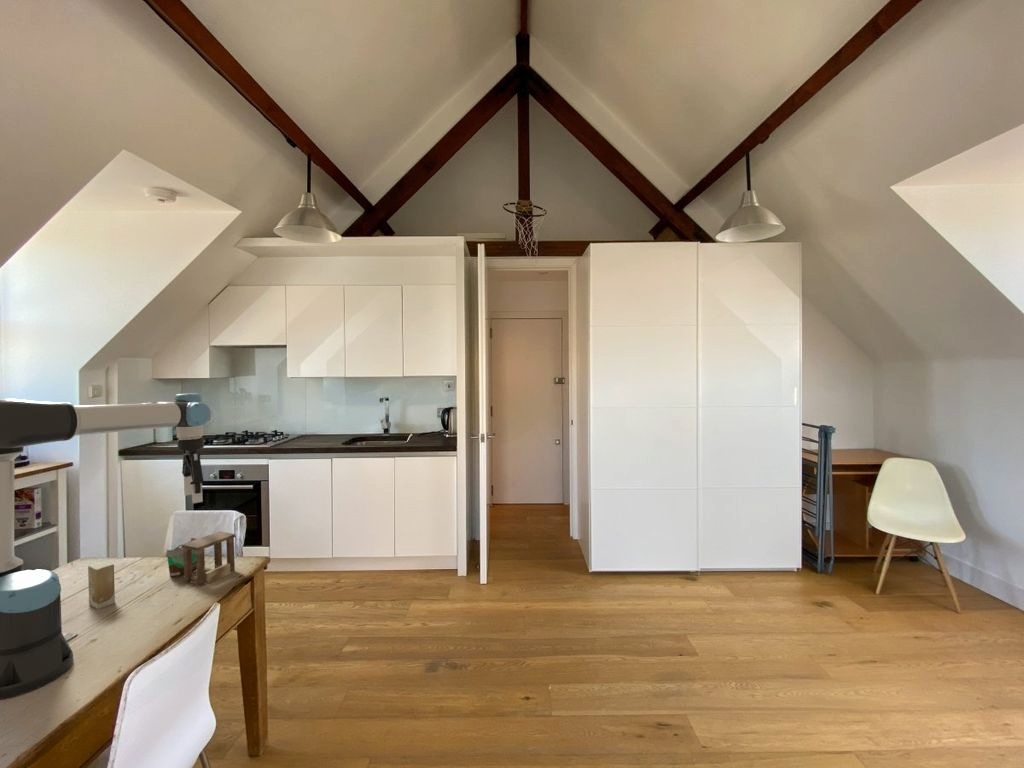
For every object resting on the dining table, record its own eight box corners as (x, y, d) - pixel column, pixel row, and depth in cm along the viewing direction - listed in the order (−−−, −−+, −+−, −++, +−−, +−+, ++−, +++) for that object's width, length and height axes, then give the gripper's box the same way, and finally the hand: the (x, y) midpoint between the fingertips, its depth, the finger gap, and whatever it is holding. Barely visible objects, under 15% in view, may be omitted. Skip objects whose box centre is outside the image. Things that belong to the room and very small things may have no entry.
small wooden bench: (200, 587, 146) (198, 548, 146) (182, 583, 149) (181, 544, 149) (237, 570, 158) (236, 534, 158) (220, 566, 161) (219, 531, 161)
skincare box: (88, 604, 136) (86, 565, 136) (106, 598, 140) (104, 559, 139) (97, 609, 133) (96, 569, 133) (116, 602, 137) (114, 563, 136)
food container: (184, 579, 152) (183, 550, 151) (166, 579, 152) (165, 550, 151) (209, 564, 164) (208, 537, 164) (193, 564, 164) (192, 537, 164)
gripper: (212, 440, 148) (214, 503, 149) (195, 433, 166) (198, 489, 167) (184, 443, 143) (187, 508, 144) (170, 435, 161) (173, 493, 161)
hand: (193, 498), depth 155 cm, fingers open, 13 cm apart
